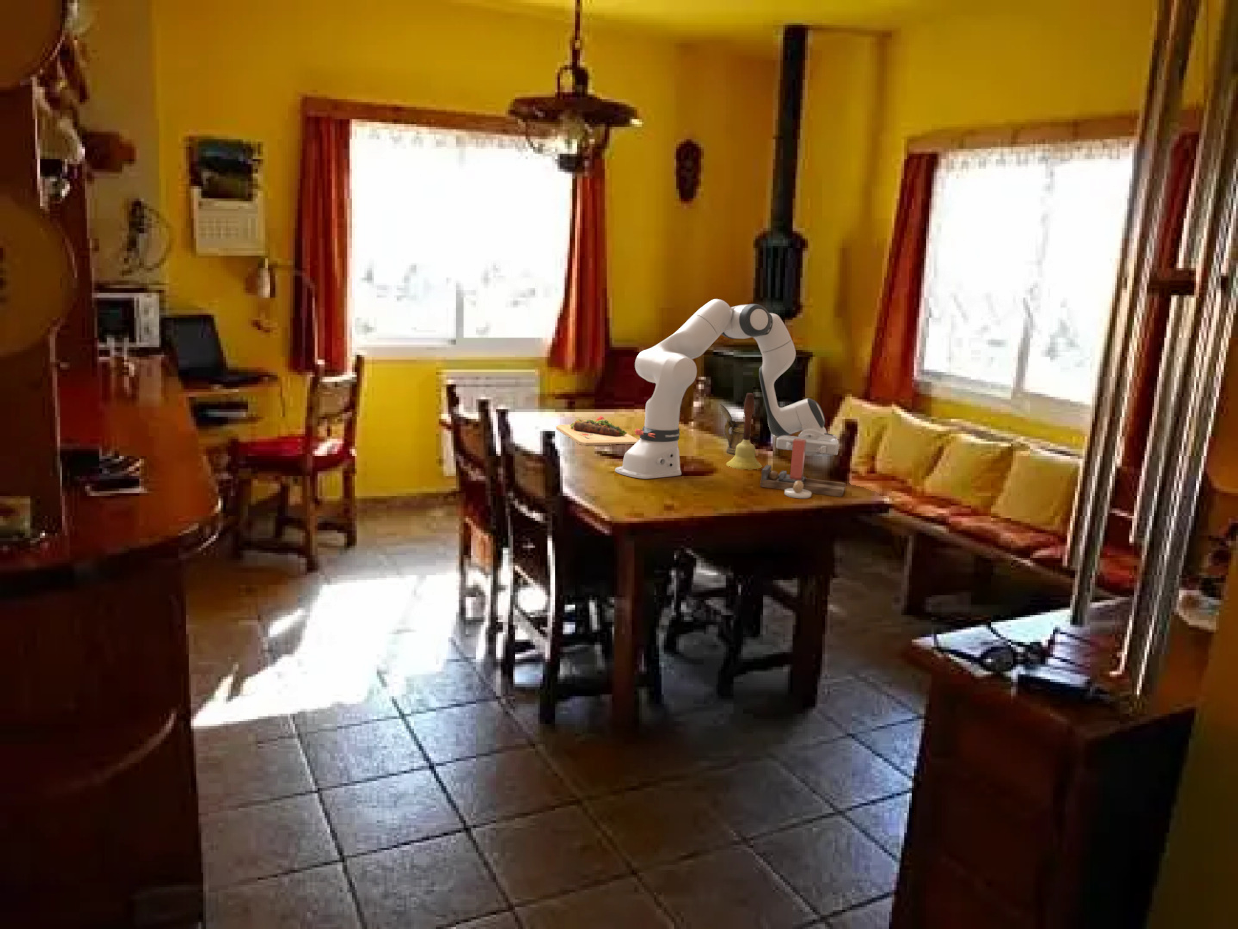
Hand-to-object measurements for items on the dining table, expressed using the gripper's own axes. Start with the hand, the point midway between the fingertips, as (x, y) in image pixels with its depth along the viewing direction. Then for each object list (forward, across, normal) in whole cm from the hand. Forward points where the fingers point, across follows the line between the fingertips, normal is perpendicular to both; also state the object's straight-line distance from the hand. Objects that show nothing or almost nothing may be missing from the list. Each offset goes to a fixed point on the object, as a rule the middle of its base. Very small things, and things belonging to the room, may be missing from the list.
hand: (804, 449), depth 312 cm
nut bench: (+12, +2, +10) cm, 16 cm away
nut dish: (+22, +2, +10) cm, 24 cm away
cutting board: (-33, -83, +11) cm, 90 cm away
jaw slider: (+12, -1, +9) cm, 15 cm away
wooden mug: (-30, -29, +10) cm, 43 cm away
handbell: (-11, -21, +10) cm, 26 cm away
